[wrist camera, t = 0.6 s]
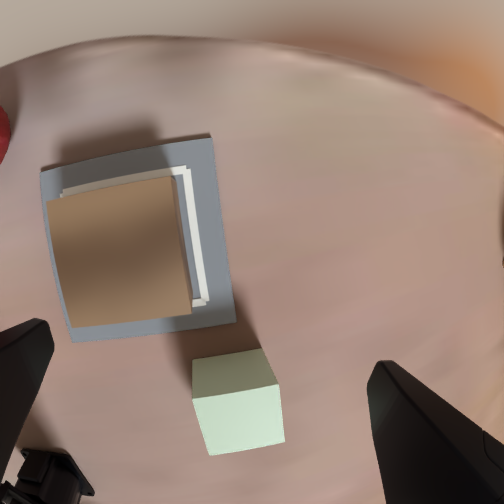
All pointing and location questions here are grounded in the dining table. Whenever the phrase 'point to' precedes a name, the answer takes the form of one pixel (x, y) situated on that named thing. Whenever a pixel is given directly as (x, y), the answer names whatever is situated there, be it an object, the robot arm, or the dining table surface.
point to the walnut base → (121, 253)
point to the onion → (4, 133)
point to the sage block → (237, 402)
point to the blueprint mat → (193, 222)
